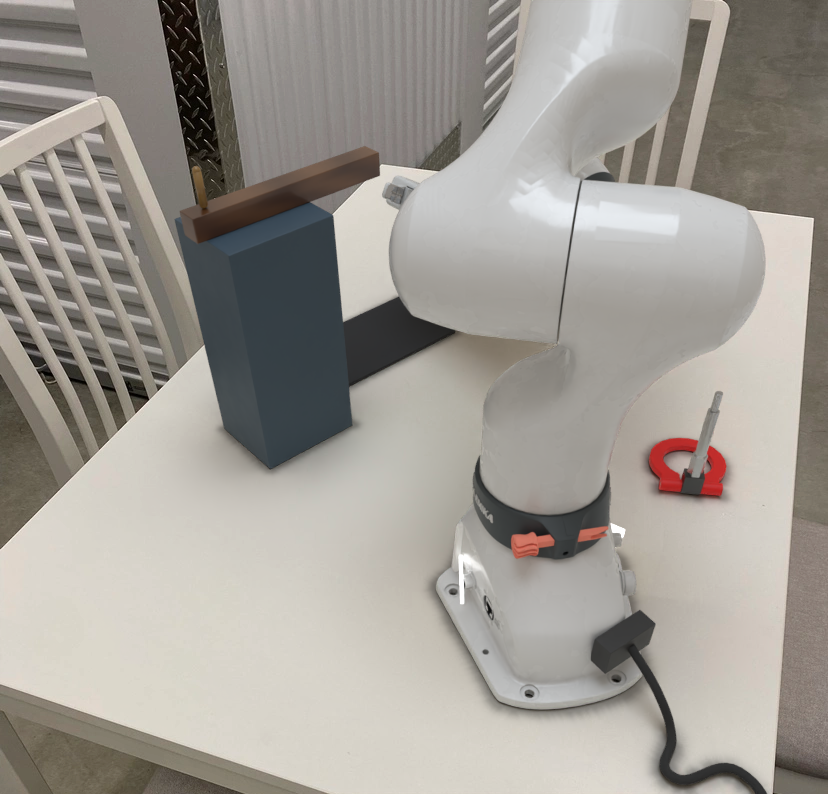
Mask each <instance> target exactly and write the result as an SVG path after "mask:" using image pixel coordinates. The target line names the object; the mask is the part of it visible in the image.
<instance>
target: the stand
mask: <svg viewBox="0 0 828 794" xmlns="http://www.w3.org/2000/svg"><path fill="white" fill-rule="evenodd" d="M173 219H174V224H175V228H176V233H177V236H178V241H179V245H180V249H181V254H182V258H183V262H184V267H185V270H186V274H187V279H188V282H189V283H188V284H189V287H190V291H191V296H192V300H193V303H194V307H195V312H196V316H197V320H198V324H199V329H200V333H201V338H202V341H203V346H204V350H205V354H206V358H207V363H208V366H209V367H208V368H209V371H210V374H211V375H210V376H211V379H212V383H213V387H214V391H215V397H216V400H217V404H218V409H219V412H220V417H221V421H222V426H223V429H224V430H225V431H226V432H227V433H229V434H230V435H231V436H232V437H233V438H234V439H235V440H236V441H238V442H239V443H240V444H241V445H242V446H244V447H245V448H246V450H248V451H249V452H250V453H252V454H253V456H255V457H256V458H257V459H258V460H259V461H261V463H263V464H264V465H265V466H266V467H267V468H269V470H271V469H273V468H275V467H277V466H279V465H281V464H283V463H285V462H286V461H288V460H290V459H292V458H293V457H296V456H298V455H299V454H301V453H304V452H305V451H307V450H309V449H311V448H313V447H315V446H316V445H318V444H320V443H322V442H324V441H326V440H328V439H330V438H332V437H333V436H335V435H337V434H339V433H341V432H342V431H345V430H346V429H348V428H350V427H352V426H353V417H352V405H351V394H350V392H351V391H350V386H349V381H348V370H347V359H346V348H345V338H344V327H343V322H344V317H343V306H342V295H341V284H340V283H341V282H340V273H339V262H338V261H339V260H338V251H337V241H336V229H335V228H336V227H335V220H334V219H335V218H334V214H332V213H330V212H329V211H327V210H325V209H323V208H321V207H319V206H318V205H316V204H314V203H313V202H312V201H311V202H309V203H306V204H303V205H301V206H298V207H295V208H293V209H290V210H287V211H285V212H282V213H279V214H277V215H274V216H271V217H269V218H266V219H263V220H261V221H258V222H255V223H253V224H250V225H247V226H245V227H242V228H239V229H236V230H234V231H231V232H228V233H226V234H223V235H220V236H218V237H215V238H212V239H210V240H207V241H204V242H202V243H199V244H197V243H196V242H194V241H193V240H191V239H190V238H188V237H187V236H185V233H184V229H183V224H182V220H181V216H179V217H176V218H173Z"/></svg>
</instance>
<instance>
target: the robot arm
mask: <svg viewBox="0 0 828 794" xmlns="http://www.w3.org/2000/svg"><path fill="white" fill-rule="evenodd" d="M693 1H694V0H530V3H529V7H528V8H529V9H528V14H527V19H526V25H525V28H524V29H525V30H524V33H523V39H522V44H521V47H520V53H519V55H518V60H517V65H516V69H515V72H514V75H513V79H512V82H511V84H510V87H509V89H508V92H507V94H506V96H505V98H504V100H503V102H502V104H501V105H500V107H499V109H498V111H497V112H496V114H495V116H494V117H493V119H492V120H491V122H490V123H489V124H488V126H486V128H485V129H484V130H483V132H482V133H481V134H480V136H478V138H476V140H475V141H474V142H473V143H472V144H471V145H470V146H469V147H468V148H467V150H465V151H464V152H463V153H462V154H461V155H460V156H459V157H457V158H456V159H454V160H453V161H452V162H450V163H449V164H448V165H447V166H445V167H444V168H443V169H441V170H439V171H438V172H435V173H433V174H432V175H430V176H429V177H427V178H425V179H423V180H422V181H421V182H418V181H415V180H412V179H410V178H408V177H405V176H403V175H395V176H394V177H393V178H392V181H391V182H390V181H389V182H386V183H385V184H384V187H383V190H382V192H381V197H382V198H383V199H385V202H386V204H387V205H389V206H390V207H392V208H394V209H395V210H397V211H398V212H397V213H396V215H395V219H394V221H393V224H392V227H391V231H390V234H389V235H390V236H389V240H388V241H389V242H388V266H389V271H390V272H389V273H390V276H391V280H392V283H393V286H394V289H395V292H396V293H397V295H398V297H400V299H401V301H402V302H403V304H404V306H405V307H406V308H407V310H408V311H409V312H410V313H411V314H412V315H413V316H415V317H418V318H420V319H423V320H426V321H429V322H432V323H435V324H437V325H440V326H443V327H447V328H450V329H454V330H455V331H457V332H461V333H463V334H467V335H473V336H481V337H490V338H498V339H499V338H500V339H508V340H517V341H527V342H535V343H544V344H552V345H555V346H553V347H551V348H548V349H546V350H544V351H540V352H538V353H534V354H532V355H529V356H527V357H525V358H524V357H523V358H522V359H520V360H518V361H516V362H515V363H514V364H512V365H511V366H509V367H508V368H507V369H505V371H504V372H502V373H501V374H500V375H499V376H498V377H497V378H496V379H495V380H494V381H493V383H492V384H491V385H490V387H489V389H488V391H487V392H486V394H485V396H484V397H485V398H484V400H483V404H482V419H481V435H480V453H479V455H478V457H477V459H476V462H475V466H474V472H473V475H472V482H471V483H472V484H471V488H472V503H471V505H470V506H469V508H468V509H467V511H466V512H465V513H464V514H463V515H462V517H461V519H459V521H458V522H457V524H456V526H455V531H454V533H455V534H454V541H453V551H452V560H451V565H450V567H449V568H447V569H446V570H444V572H443V573H441V574H440V575H439V577H438V578H437V580H436V585H435V591H436V593H437V595H438V597H439V599H440V601H441V603H442V604H443V606H444V608H445V610H446V612H447V613H448V615H449V617H450V619H451V621H452V623H453V624H454V626H455V628H456V630H457V632H458V634H459V636H460V637H461V639H462V642H464V644H465V646H466V648H467V650H468V652H469V654H470V656H471V657H472V659H473V660H474V663H475V664H476V666H477V668H478V670H479V672H480V673H481V676H482V677H483V679H484V681H485V683H486V684H487V686H488V688H489V689H490V691H491V694H492V695H493V696H494V698H495V699H496V700H497V701H498V702H500V703H502V704H505V705H508V706H512V707H514V708H515V707H516V708H520V709H527V710H528V709H529V710H554V709H555V710H557V709H558V710H559V709H567V708H574V707H580V706H584V705H588V704H595V703H598V702H601V701H604V700H607V699H610V698H613V697H615V696H618V695H620V694H621V693H622V694H623V692H625V691H627V690H629V689H630V688H631V687H633V686H634V685H635V684H636V683H637V682H638V681H640V679H641V678H642V677H643V678H644V679H645V682H646V683H647V684H648V687H649V688H650V690H651V693H653V697H654V699H655V701H656V703H657V705H658V708H659V710H660V713H661V716H662V718H663V722H664V726H665V731H666V743H665V746H664V749H663V751H662V752H661V754H660V755H661V756H660V758H659V771H660V772H661V774H662V775H663V776H664V777H665V778H666V780H669V781H670V782H671V783H673V784H676V785H679V786H689V785H695V784H697V783H699V782H702V781H704V780H707V779H709V778H711V777H714V776H716V775H719V774H726V773H727V774H732V775H735V776H737V777H738V778H739V779H741V780H742V781H743V782H745V783H746V784H747V785H748V786H749V787H750V788H751V789H752V791H753V793H754V794H768V792H767V790H766V789H765V787H764V786H763V785H762V784H761V782H760V781H759V780H758V779H757V778H756V777H755V776H754V775H752V774H751V772H749V771H747V770H746V769H745V768H743V767H742V766H739V765H737V764H735V763H730V762H718V763H714V764H711V765H708V766H706V767H703V768H701V769H699V770H697V771H695V772H691V773H687V774H680V773H677V772H675V771H674V770H672V768H671V766H670V762H671V759H672V758H673V755H674V753H675V750H676V747H677V732H676V731H677V730H676V725H675V721H674V717H673V713H672V710H671V708H670V705H669V703H668V701H667V698H666V696H665V693H664V691H663V689H662V687H661V685H660V683H659V682H658V680H657V678H656V676H655V674H654V673H653V671H652V669H651V668H650V666H649V665H648V662H646V660H645V658H644V657H643V656H642V653H641V651H642V650H643V649H644V648H646V647H647V646H649V645H650V644H651V639H652V637H653V634H654V631H655V628H656V625H657V623H656V622H655V621H654V620H653V619H652V618H650V617H649V616H648V615H647V614H646V613H645V612H643V610H641V609H639V610H637V611H635V612H634V613H633V612H632V607H631V601H630V598H629V596H633V595H635V594H636V591H637V577H636V573H635V571H633V570H631V569H627V570H624V569H623V565H622V562H621V557H620V555H619V554H618V553H617V551H616V548H619V547H621V546H622V545H623V544H622V543H623V538H624V536H625V532H626V529H625V528H623V527H621V526H618V525H616V524H614V523H612V522H611V517H610V516H611V515H610V512H611V510H610V509H611V506H612V492H611V491H612V487H611V475H610V469H609V468H610V464H611V460H612V456H613V453H614V449H615V446H616V442H617V440H618V436H619V434H620V430H621V427H622V425H623V422H624V420H625V418H626V416H627V414H628V413H629V411H630V409H631V408H632V407H633V405H634V404H635V403H636V401H637V400H638V399H639V398H640V397H641V396H642V395H643V394H644V393H645V392H646V391H647V390H648V389H650V387H651V386H652V385H653V384H655V383H656V382H657V381H659V380H660V379H662V377H664V376H665V375H667V374H668V373H670V372H672V371H673V370H674V369H676V368H678V367H680V366H681V365H683V364H685V363H687V362H688V361H691V360H694V359H696V358H698V357H700V356H703V355H705V354H707V353H711V352H714V351H716V350H718V349H719V348H720V347H722V346H723V345H725V344H726V343H727V342H728V341H730V339H732V338H733V337H734V336H735V335H736V334H737V333H738V332H739V331H740V330H741V329H742V327H743V326H744V325H745V323H746V322H747V321H748V320H749V318H750V316H752V313H753V311H754V310H755V308H756V306H757V303H758V301H759V299H760V298H761V297H760V296H761V294H762V290H763V287H764V282H765V279H766V277H765V276H766V265H767V264H766V259H767V258H766V250H765V243H764V240H763V236H762V233H761V231H760V228H759V226H758V224H757V222H756V220H755V219H754V216H753V215H752V214H751V212H750V211H749V209H748V208H747V207H745V206H744V205H741V204H738V203H734V202H732V201H729V200H726V199H722V198H719V197H716V196H713V195H709V194H706V193H703V192H699V191H694V190H691V189H687V188H684V187H681V186H669V185H668V186H667V185H658V184H657V185H655V184H644V183H631V182H619V181H616V179H615V177H614V176H613V175H612V173H611V172H610V171H609V170H608V168H607V167H606V165H605V164H604V163H603V161H602V160H601V159H600V158H599V157H601V156H603V155H605V154H607V153H609V152H612V151H615V150H618V149H619V148H622V147H624V146H627V145H630V144H631V143H633V142H634V141H636V140H638V139H639V138H641V137H642V136H644V135H645V134H646V133H648V131H650V130H651V129H653V127H654V126H655V125H657V124H658V122H660V120H661V119H662V118H664V117H665V115H666V114H667V112H668V110H670V108H671V106H672V104H673V102H674V101H675V99H676V96H677V94H678V91H679V88H680V83H681V77H682V71H683V65H684V57H685V52H686V46H687V40H688V34H689V33H688V32H689V26H690V20H691V13H692V6H693ZM614 680H617V681H618V682H616V681H614ZM526 695H531V696H532V697H527V696H526Z"/></svg>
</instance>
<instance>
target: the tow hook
mask: <svg viewBox="0 0 828 794" xmlns="http://www.w3.org/2000/svg"><path fill="white" fill-rule="evenodd" d="M723 396H724V392H722V391H721V390H717V391H715V392H714V395H713V398H712V402H711V405H710V407H708V409H707V411H706V414H705V418H704V420H703V425H702V428H701V431H700V434H699V438H698V440H697V439H693V438H690V437H689V438H688V437H674V438H667V439H663V440H661V441H659V442H658V443H656V444H655V445H654V446H653V447H652V448H651V449H650V453H649V455H648V464H649V468H651V471H652V472H653V473H654V474H655V475H656V476H657V477H658V478H659V481H658V490H659V491H665V492H676V493H680V494H686V495H687V494H689V495H698V496H699V495H705V496H707V495H708V496H718V497H722V494H723V490H724V484H723V483H722V482H721V481H722V480H723V478H724V477H725V474H726V472H727V467H728V466H727V465H728V464H727V461H726V459H725V457H724V456H723V454H722V453H721V452H720V451H719V450H717V449H716V448H715V447H713V446H712V445H711V440H712V439H713V435H714V432H715V429H716V425H717V423H718V419H719V415H720V413H721V411H720V409H719V408H720V406H721V403H722V400H723ZM674 451H688V452H693V453H692V454H691V457H690V460H689V463H688V467H686V468H683V471H682V475H681V474H680V473H679V472H677V471H675V470H674V469H672V468H670V466H668V465H667V464H666V462H665V460H664V459H665V458H664V457H665V456H666V455H667V454H668V453H671V452H674ZM707 461H708V463H709V464H710V468H711V469H710V470H709V471H707V472H705V467H706V464H707ZM680 475H681V476H680Z"/></svg>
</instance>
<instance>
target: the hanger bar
mask: <svg viewBox="0 0 828 794" xmlns="http://www.w3.org/2000/svg"><path fill="white" fill-rule="evenodd" d="M191 173H192V177H193V182H194V183H193V184H194V187H195V188H194V189H195V192H196V197H197V201H198V202H197V203H198V204H195V205H192V206H189V207H186V208H184V209H181V210H179V217H181V220H182V224H183V229H184V233H185V236H187V237H188V238H190V239H191V240H193V241H194V242H196V243H197V244H199V243H202V242H204V241H207V240H210V239H212V238H215V237H218V236H220V235H223V234H226V233H228V232H231V231H234V230H236V229H239V228H242V227H245V226H247V225H250V224H253V223H255V222H258V221H261V220H263V219H266V218H269V217H271V216H274V215H277V214H279V213H282V212H285V211H287V210H290V209H293V208H295V207H298V206H301V205H303V204H306V203H309V202H311V203H312V202H314V201H316V200H320V199H323V198H324V197H327V196H331V195H332V194H336V193H338V192H341V191H343V190H346V189H348V188H351V187H354V186H357V185H360V184H362V183H364V182H367V181H370V180H373V179H375V178H377V177H380V176H381V165H380V152H379V151H377V150H375V149H372V148H370V147H368V146H366V145H363V146H361V147H358V148H354V149H352V150H349V151H347V152H343V153H340V154H337V155H334V156H333V157H332V156H331V157H329V158H327V159H323V160H321V161H318V162H315V163H312V164H309V165H307V166H303V167H301V168H297V169H295V170H291V171H289V172H286V173H283V174H281V175H278V176H275V177H272V178H268V179H266V180H264V181H261V182H257V183H256V184H252V185H249V186H246V187H243V188H241V189H238V190H235V191H232V192H229V193H226V194H223V195H221V196H218V197H214V198H212V199H209V200H208V198H207V192H206V188H205V182H204V178H203V173H202V169H201V168H200V166H199V165H194V166H193V167H192V168H191Z"/></svg>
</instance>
